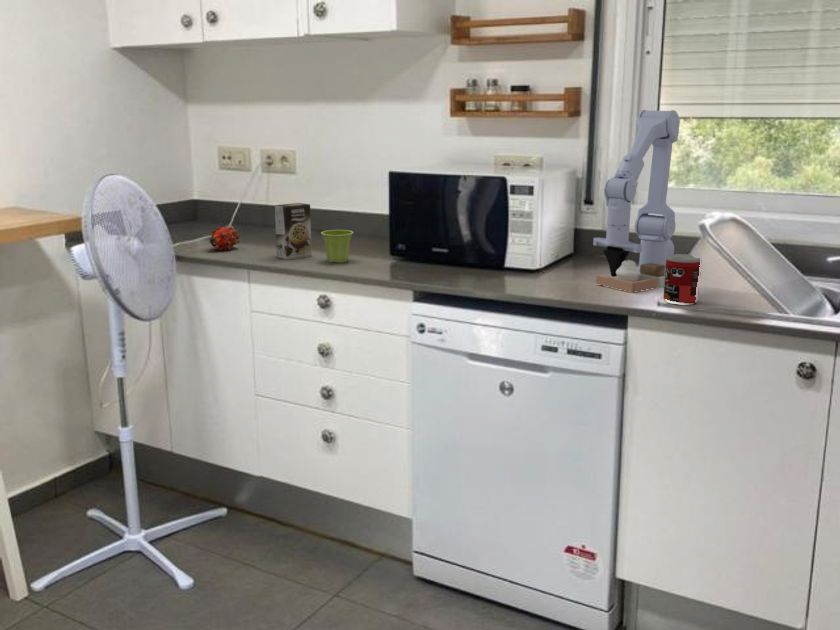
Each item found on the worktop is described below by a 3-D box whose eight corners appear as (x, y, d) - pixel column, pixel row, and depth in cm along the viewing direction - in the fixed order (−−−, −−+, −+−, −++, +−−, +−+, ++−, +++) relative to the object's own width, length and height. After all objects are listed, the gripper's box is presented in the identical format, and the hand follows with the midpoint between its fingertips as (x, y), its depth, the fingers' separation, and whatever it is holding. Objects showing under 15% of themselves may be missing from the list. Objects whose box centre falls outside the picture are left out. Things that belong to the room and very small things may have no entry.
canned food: (658, 298, 207) (661, 254, 204) (690, 298, 207) (694, 253, 205) (669, 306, 199) (673, 260, 197) (702, 305, 200) (706, 259, 197)
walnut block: (650, 279, 229) (651, 262, 228) (663, 281, 225) (665, 265, 224) (639, 281, 226) (640, 264, 225) (653, 284, 223) (654, 267, 222)
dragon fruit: (241, 251, 278) (215, 263, 268) (223, 235, 279) (197, 245, 270) (249, 232, 273) (224, 243, 263) (231, 216, 274) (205, 226, 265)
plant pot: (358, 262, 252) (358, 233, 250) (329, 265, 248) (328, 235, 245) (346, 257, 260) (345, 228, 258) (317, 259, 256) (316, 231, 253)
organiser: (646, 274, 234) (646, 265, 233) (682, 282, 224) (683, 273, 224) (596, 284, 222) (596, 275, 221) (632, 293, 212) (633, 283, 212)
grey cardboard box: (286, 260, 255) (284, 206, 251) (276, 257, 260) (273, 204, 256) (312, 256, 261) (310, 204, 257) (301, 253, 266) (299, 202, 262)
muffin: (635, 289, 216) (636, 262, 214) (611, 286, 219) (613, 260, 217) (642, 285, 221) (644, 258, 219) (619, 282, 224) (621, 256, 222)
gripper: (586, 222, 223) (584, 273, 226) (630, 229, 212) (627, 282, 215) (604, 220, 227) (601, 270, 230) (648, 226, 216) (644, 279, 219)
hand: (615, 276), depth 223 cm, fingers closed
